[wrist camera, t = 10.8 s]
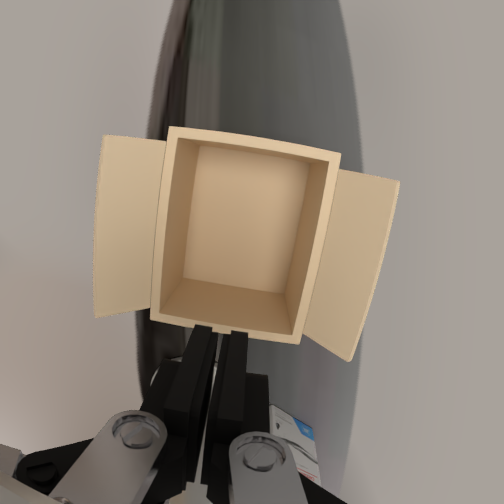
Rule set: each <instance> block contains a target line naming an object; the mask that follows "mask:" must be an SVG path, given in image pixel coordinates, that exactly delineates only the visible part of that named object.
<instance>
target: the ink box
mask: <svg viewBox="0 0 504 504" xmlns="http://www.w3.org/2000/svg"><path fill="white" fill-rule="evenodd" d="M269 415H270V434H272V435H275V436H277V437H279V438H280V439H282V440H283V441H284V442H286V443H287V444H288V445H289V447H290V449H291V451H292V454H293V457H294V460H295V463H296V467H297V470H298V471H299V472H300V473H301V474H303V475H304V476H306V477H307V478H309V479H310V480H311V481H313V482H314V483H316V484H317V485H319V486H320V487H321V481H320V475H319V468H318V462H317V456H316V450H315V443H314V437H313V432H312V428H310V427H309V426H307V425H305V424H304V423H302V422H300V421H298V420H297V419H295V418H293V417H292V416H290V415H288V414H287V413H285V412H284V411H282V410H280V409H279V408H277V407H276V406H274V405H270V406H269Z"/></svg>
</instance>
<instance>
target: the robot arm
mask: <svg viewBox="0 0 504 504" xmlns="http://www.w3.org/2000/svg"><path fill="white" fill-rule="evenodd" d="M212 329H213V327H210V326H204V325H198V324H195V326H194V329H193V331H192V334H191V336H190V339H189V341H188V344H187V347H186V349H185V352H184V354H183V357H178V358H174V359H171V360H170V359H163V361H162V362H161V365H160V366H159V368H158V369H157V370H156V371H155V373H154V375H153V377H152V380H151V384H150V388H149V390H148V392H147V395H146V397H145V399H144V401H143V403H142V406H141V408H140V410H138V411H137V410H129V411H124V412H121V413H118V414H116V415H114V416H113V417H112V418H111V419H110V420H109V421H108V422H107V423H106V425H105V426H104V427H103V428H102V430H101V431H100V432H99V433H98V435H97V436H96V437H95V438H92V439H89V440H85V441H82V442H77V443H73V444H69V445H65V446H61V447H57V448H52V449H47V450H43V451H38V452H34V453H31V454H28V455H24V454H22V452H21V450H18V449H15V448H11V447H9V446H6V445H2V444H0V504H347V503H345V502H344V501H342V500H340V499H339V498H337V497H336V496H334V495H333V494H331V493H329V492H328V491H326V490H325V489H323V488H322V487H320V486H319V485H317V484H316V483H314V482H313V481H311V480H310V479H309V478H307V477H306V476H304V475H303V474H301V473H300V472H299V471H298V470H297V467H296V463H295V460H294V457H293V454H292V451H291V449H290V447H289V445H288V444H287V443H286V442H284V441H283V440H282V439H280V438H279V437H277V436H275V435H272V434H270V415H269V388H268V376H267V375H261V374H253V373H246V363H247V347H248V332H241V331H234V330H231V334H225V333H224V335H223V340H222V345H221V350H220V355H219V360H218V363H215V357H216V349H217V341H218V332H212Z"/></svg>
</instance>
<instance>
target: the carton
mask: <svg viewBox="0 0 504 504" xmlns="http://www.w3.org/2000/svg"><path fill="white" fill-rule="evenodd" d="M340 158H341V153H337V152H332V151H328V150H323V149H318V148H314V147H309V146H304V145H299V144H294V143H288V142H283V141H277V140H272V139H266V138H260V137H253V136H247V135H240V134H233V133H226V132H218V131H210V130H202V129H193V128H183V127H172V126H169V132H168V138H167V144H166V151H165V157H164V164H163V171H162V179H161V187H160V195H159V203H158V213H157V222H156V233H155V244H154V257H153V271H152V288H151V310H150V320H155V321H160V322H164V323H169V324H174V325H179V326H184V327H190V328H194V326H195V324H198V325H204V326H210V327H213V329H212V332H218V333H223V334H224V333H225V334H231V330H234V331H241V332H248V338H255V339H262V340H269V341H276V342H284V343H291V344H299V343H300V340H301V336H302V332H303V328H304V325H305V321H306V317H307V313H308V309H309V305H310V301H311V297H312V293H313V289H314V285H315V280H316V276H317V272H318V268H319V263H320V259H321V254H322V250H323V245H324V241H325V236H326V231H327V227H328V222H329V217H330V212H331V207H332V202H333V197H334V191H335V186H336V181H337V175H338V170H339V164H340Z"/></svg>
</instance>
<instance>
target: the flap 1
mask: <svg viewBox="0 0 504 504" xmlns="http://www.w3.org/2000/svg"><path fill="white" fill-rule="evenodd" d="M165 148H166V141H159V140H151V139H143V138H133V137H125V136H115V135H103V138H102V145H101V153H100V161H99V169H98V179H97V189H96V202H95V217H94V240H93V297H94V316H95V317H96V318H100V317H105V316H110V315H115V314H121V313H126V312H130V311H136V310H141V309H146V308H150V300H151V280H152V265H153V251H154V239H155V228H156V218H157V209H158V200H159V191H160V183H161V175H162V168H163V161H164V154H165Z"/></svg>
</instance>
